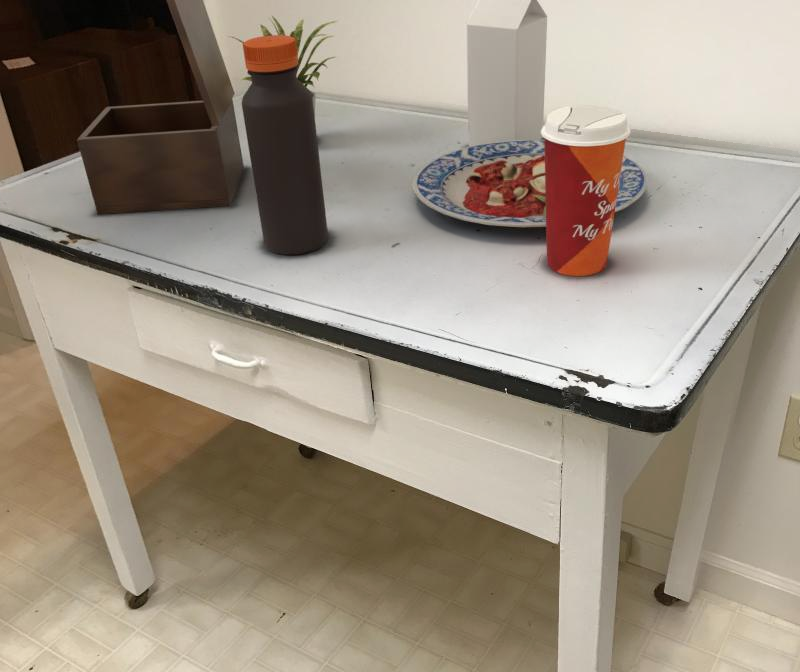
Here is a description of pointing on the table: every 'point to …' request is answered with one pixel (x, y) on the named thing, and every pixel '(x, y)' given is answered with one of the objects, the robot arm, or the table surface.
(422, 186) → the ceramic plate
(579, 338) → the table surface
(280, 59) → the bottle
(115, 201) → the chest
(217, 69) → the lid
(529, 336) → the table surface
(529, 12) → the milk carton
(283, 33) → the house plant
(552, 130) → the paper cup
